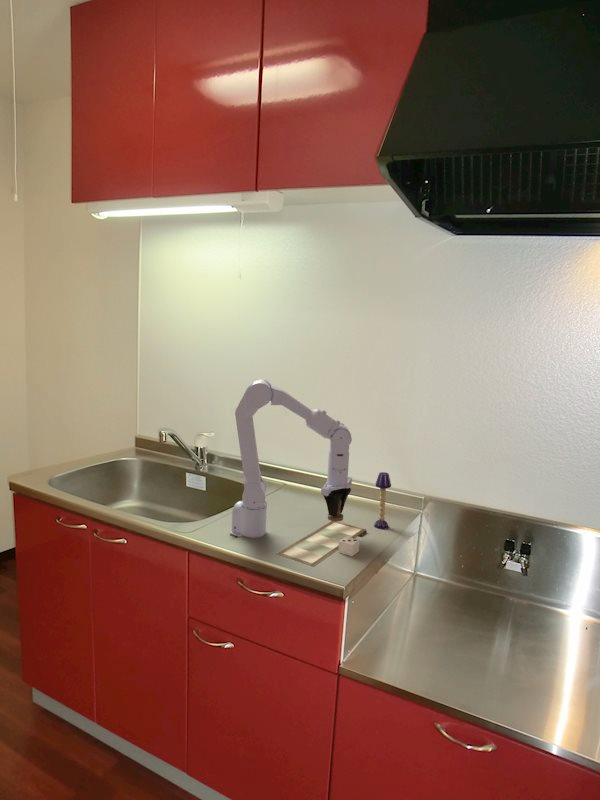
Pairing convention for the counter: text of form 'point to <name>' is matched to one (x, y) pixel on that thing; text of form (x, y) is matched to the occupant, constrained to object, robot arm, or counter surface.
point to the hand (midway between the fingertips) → (335, 513)
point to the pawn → (339, 516)
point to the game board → (320, 543)
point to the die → (348, 546)
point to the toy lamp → (382, 498)
